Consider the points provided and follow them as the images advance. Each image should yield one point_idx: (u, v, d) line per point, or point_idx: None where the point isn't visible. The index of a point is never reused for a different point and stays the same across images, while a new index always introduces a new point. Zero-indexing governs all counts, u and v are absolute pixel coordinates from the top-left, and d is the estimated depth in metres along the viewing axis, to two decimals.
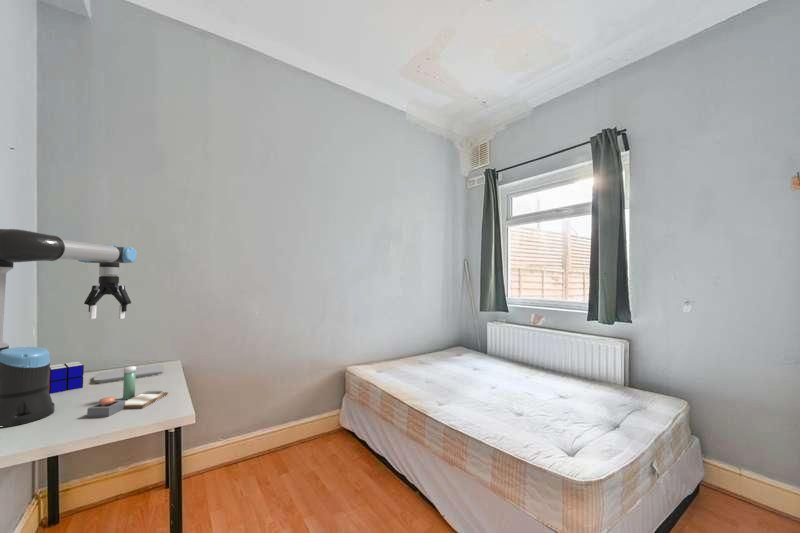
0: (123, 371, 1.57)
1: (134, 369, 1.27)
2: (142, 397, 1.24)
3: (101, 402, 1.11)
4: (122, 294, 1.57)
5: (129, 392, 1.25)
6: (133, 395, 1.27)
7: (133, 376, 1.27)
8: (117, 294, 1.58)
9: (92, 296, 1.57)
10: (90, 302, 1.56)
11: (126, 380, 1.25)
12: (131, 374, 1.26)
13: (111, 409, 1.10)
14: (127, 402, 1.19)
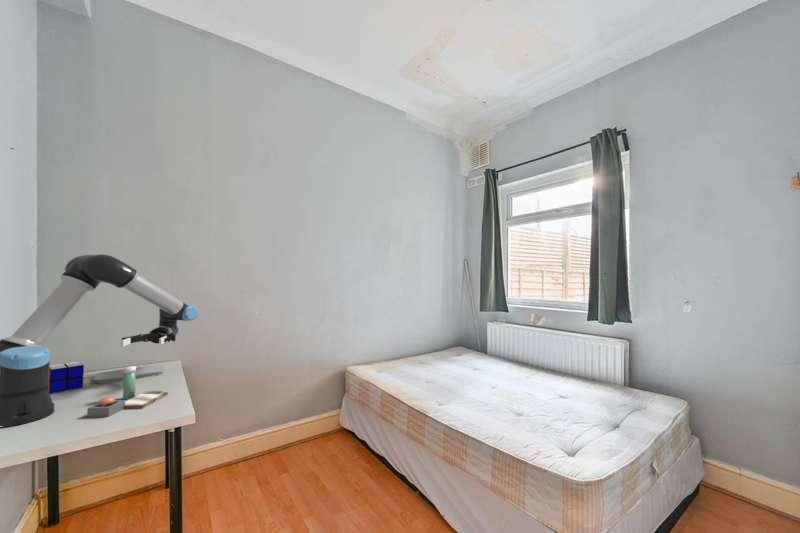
0: (123, 371, 1.57)
1: (134, 369, 1.27)
2: (142, 397, 1.24)
3: (101, 402, 1.11)
4: (172, 334, 1.51)
5: (129, 392, 1.25)
6: (133, 395, 1.27)
7: (133, 376, 1.27)
8: None
9: None
10: (130, 337, 1.42)
11: (126, 380, 1.25)
12: (131, 374, 1.26)
13: (111, 409, 1.10)
14: (127, 402, 1.19)
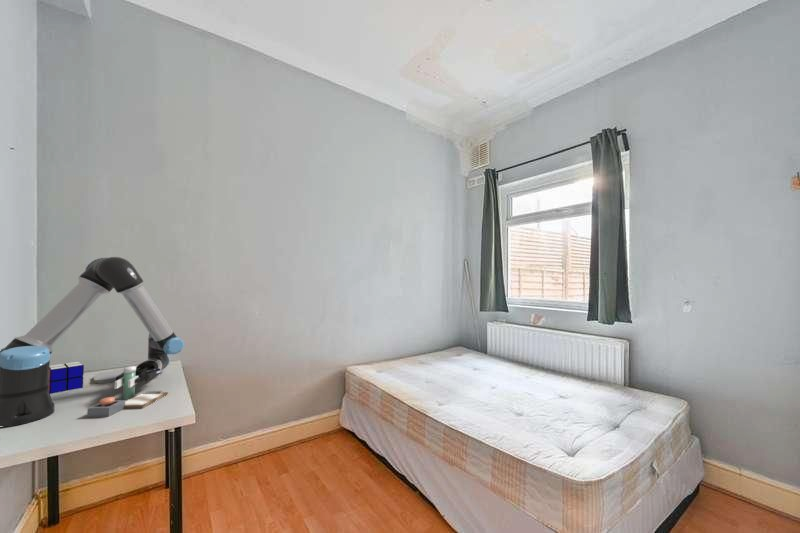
0: None
1: (134, 369, 1.27)
2: (142, 397, 1.24)
3: (101, 402, 1.11)
4: (152, 371, 1.35)
5: (129, 392, 1.25)
6: (133, 395, 1.27)
7: (133, 376, 1.27)
8: (145, 374, 1.35)
9: (123, 376, 1.31)
10: (123, 376, 1.29)
11: (126, 380, 1.25)
12: (131, 374, 1.26)
13: (111, 409, 1.10)
14: (127, 402, 1.19)
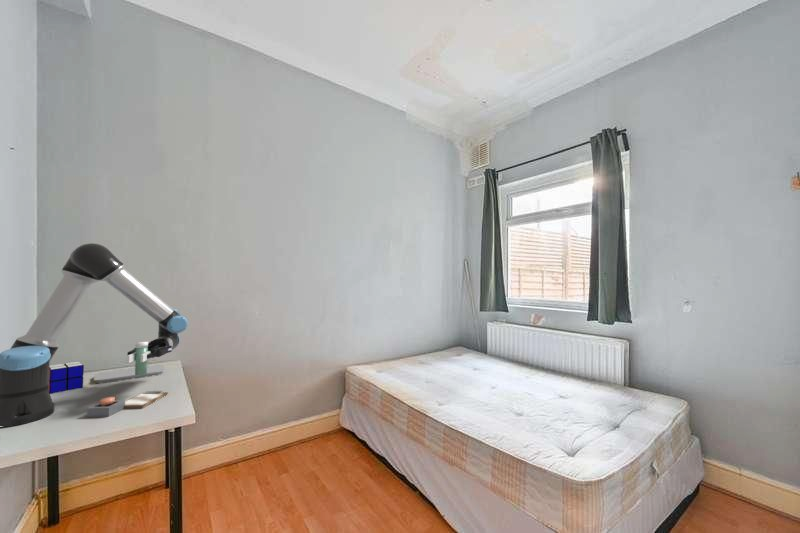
0: (123, 371, 1.57)
1: (146, 344, 1.24)
2: (142, 397, 1.24)
3: (101, 402, 1.11)
4: (164, 348, 1.32)
5: (141, 368, 1.22)
6: (145, 371, 1.24)
7: (145, 351, 1.24)
8: (157, 350, 1.32)
9: (135, 352, 1.28)
10: (135, 351, 1.26)
11: (138, 355, 1.22)
12: (143, 349, 1.23)
13: (111, 409, 1.10)
14: (127, 402, 1.19)
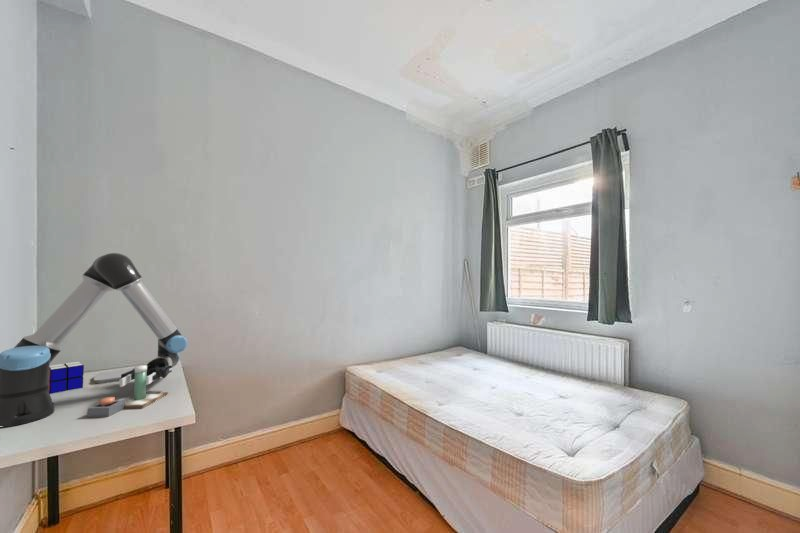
0: (123, 371, 1.57)
1: (145, 368, 1.24)
2: None
3: (101, 402, 1.11)
4: (166, 368, 1.32)
5: (140, 392, 1.22)
6: (144, 395, 1.23)
7: (144, 376, 1.23)
8: None
9: None
10: (129, 373, 1.25)
11: (137, 380, 1.22)
12: (142, 374, 1.23)
13: (111, 409, 1.10)
14: (127, 402, 1.19)
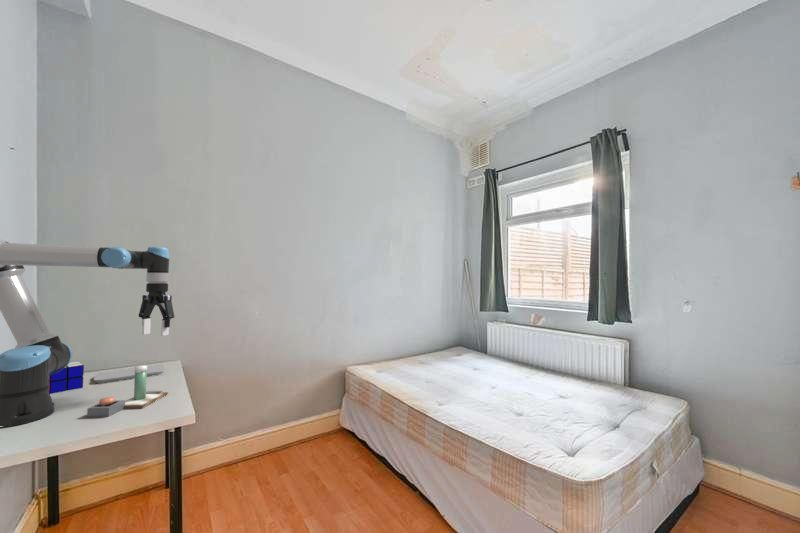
0: (123, 371, 1.57)
1: (145, 368, 1.24)
2: None
3: (101, 402, 1.11)
4: (166, 306, 1.34)
5: (140, 392, 1.22)
6: (144, 395, 1.23)
7: (144, 376, 1.23)
8: (163, 305, 1.36)
9: (145, 307, 1.39)
10: (143, 315, 1.37)
11: (137, 380, 1.22)
12: (142, 374, 1.23)
13: (111, 409, 1.10)
14: (127, 402, 1.19)
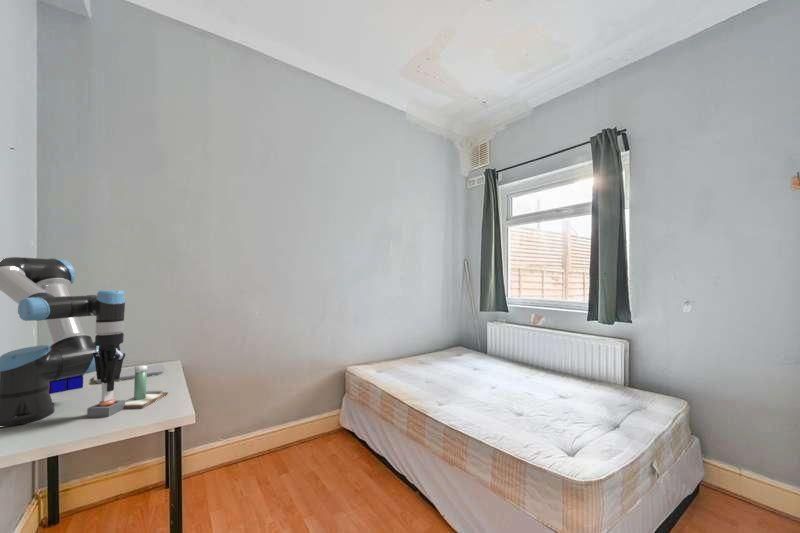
0: (123, 371, 1.57)
1: (145, 368, 1.24)
2: None
3: (101, 404, 1.11)
4: (113, 366, 1.11)
5: (140, 392, 1.22)
6: (144, 395, 1.23)
7: (144, 376, 1.23)
8: (111, 363, 1.13)
9: None
10: (101, 377, 1.13)
11: (137, 380, 1.22)
12: (142, 374, 1.23)
13: (111, 409, 1.10)
14: (127, 402, 1.19)
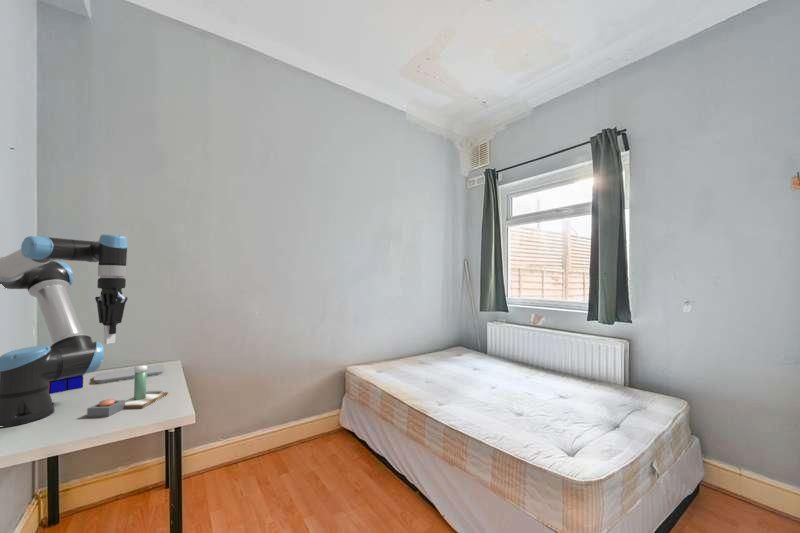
0: (123, 371, 1.57)
1: (145, 368, 1.24)
2: None
3: (101, 404, 1.11)
4: (115, 309, 1.12)
5: (140, 392, 1.22)
6: (144, 395, 1.23)
7: (144, 376, 1.23)
8: (113, 307, 1.14)
9: None
10: (103, 320, 1.13)
11: (137, 380, 1.22)
12: (142, 374, 1.22)
13: (111, 409, 1.10)
14: (127, 402, 1.19)
